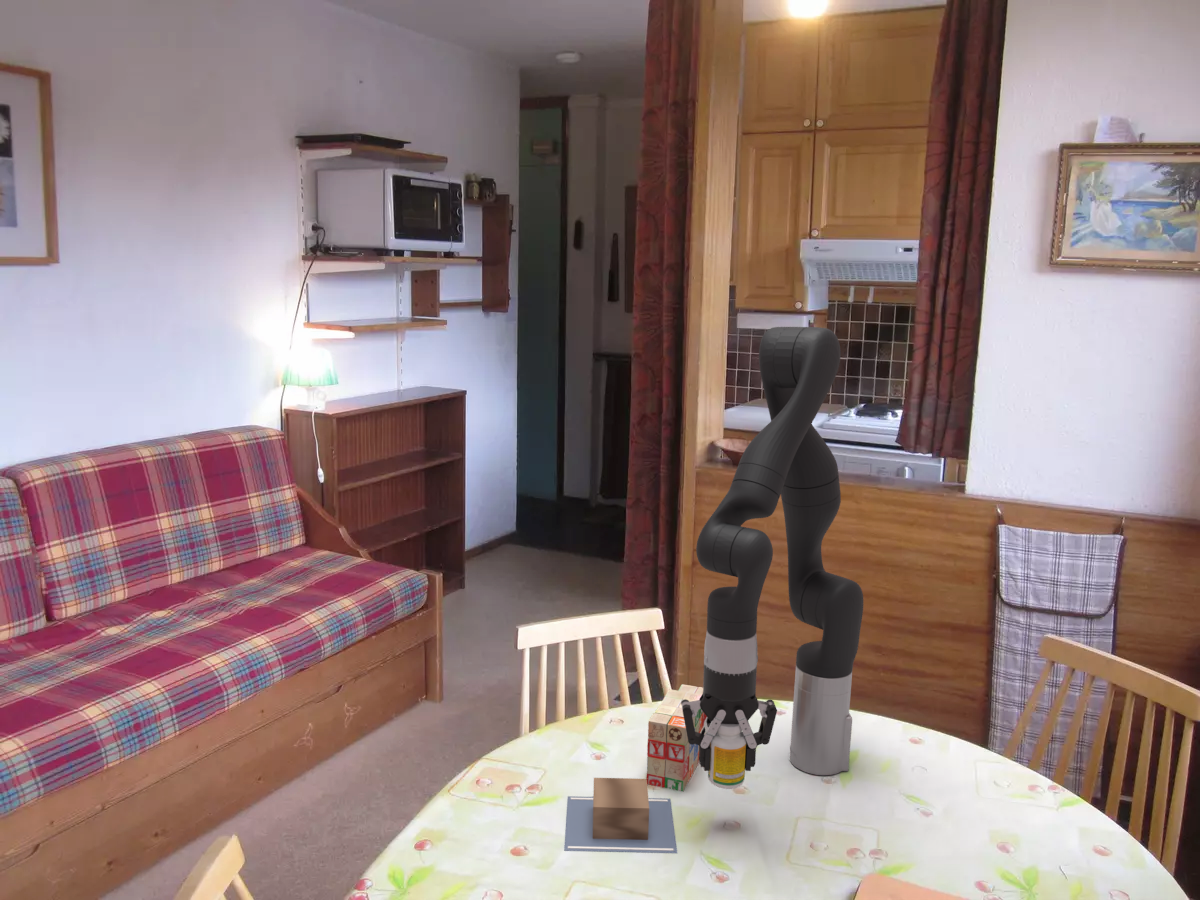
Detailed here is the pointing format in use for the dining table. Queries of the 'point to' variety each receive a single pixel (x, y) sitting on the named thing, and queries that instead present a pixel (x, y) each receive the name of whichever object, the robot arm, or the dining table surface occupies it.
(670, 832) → the blueprint board
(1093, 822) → the dining table surface
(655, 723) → the stack of blocks
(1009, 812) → the dining table surface
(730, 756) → the supplement bottle
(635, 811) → the walnut plinth
